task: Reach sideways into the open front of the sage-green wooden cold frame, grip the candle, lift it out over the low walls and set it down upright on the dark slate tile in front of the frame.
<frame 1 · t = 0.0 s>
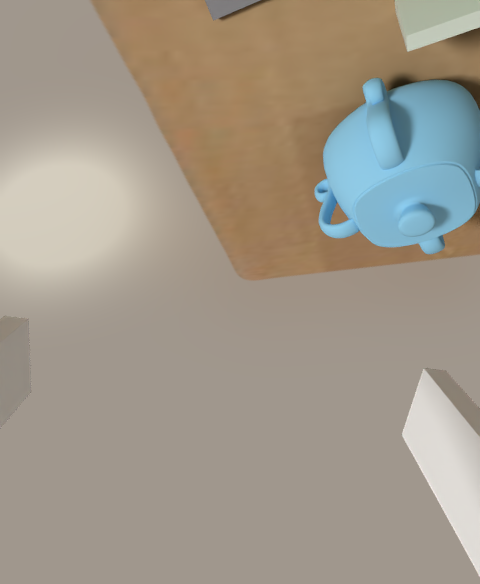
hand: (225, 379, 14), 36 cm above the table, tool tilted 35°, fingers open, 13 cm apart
decorative pot: (397, 135, 46), on the table
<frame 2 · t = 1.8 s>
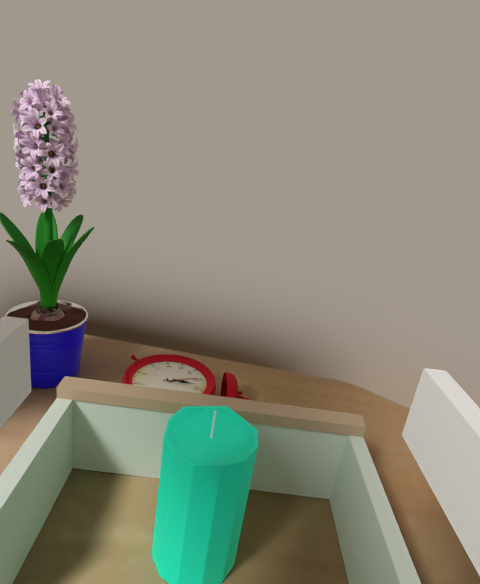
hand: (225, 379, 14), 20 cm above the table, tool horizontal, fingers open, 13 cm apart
hyacinth: (50, 370, 48), on the table
cold frame: (194, 549, 30), on the table
candle: (194, 551, 30), on the table
alarm clock: (181, 416, 44), on the table
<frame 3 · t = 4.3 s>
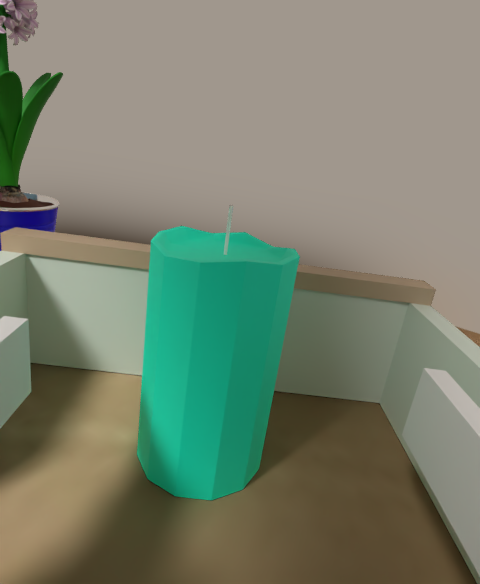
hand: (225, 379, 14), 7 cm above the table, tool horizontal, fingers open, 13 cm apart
hyacinth: (13, 278, 38), on the table
cold frame: (200, 450, 20), on the table
candle: (199, 453, 20), on the table
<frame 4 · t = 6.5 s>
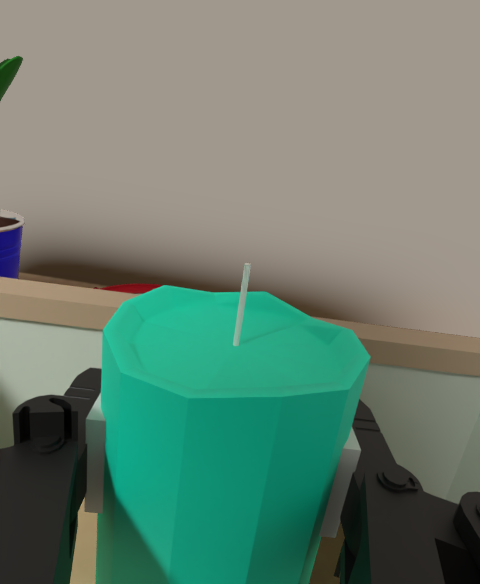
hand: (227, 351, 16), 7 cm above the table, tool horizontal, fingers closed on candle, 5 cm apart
alarm clock: (172, 375, 27), on the table
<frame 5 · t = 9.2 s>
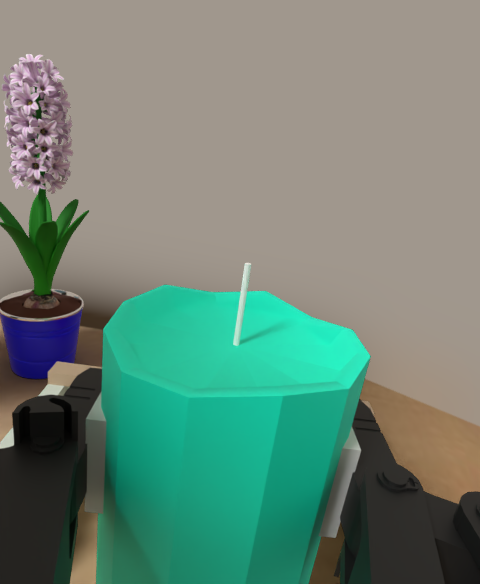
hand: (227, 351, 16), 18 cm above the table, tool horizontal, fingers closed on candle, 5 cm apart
hyacinth: (45, 361, 46), on the table
cold frame: (193, 542, 28), on the table
when the fingers open (9 cm above the table, at t = 12.0 s): candle drops 1 cm, resting on slate tile.
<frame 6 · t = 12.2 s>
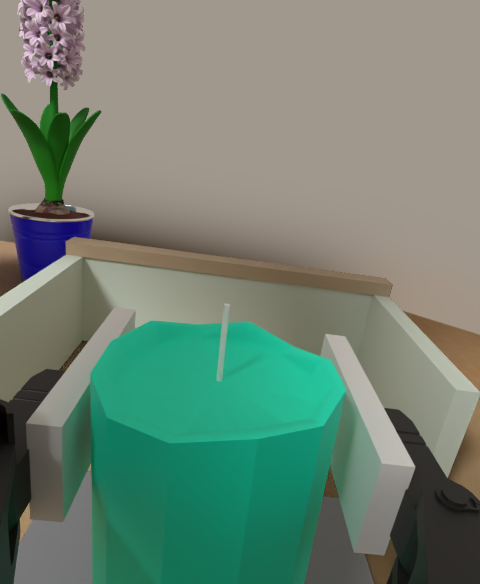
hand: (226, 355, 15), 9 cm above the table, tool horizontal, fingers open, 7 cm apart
hyacinth: (55, 276, 46), on the table
cold frame: (215, 400, 28), on the table
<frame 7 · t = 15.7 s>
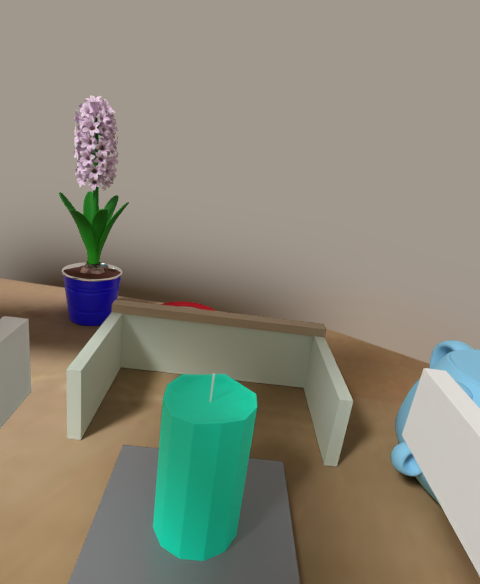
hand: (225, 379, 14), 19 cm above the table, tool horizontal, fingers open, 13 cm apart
decorative pot: (477, 491, 37), on the table
hyacinth: (92, 316, 62), on the table
cold frame: (209, 407, 44), on the table
candle: (195, 523, 29), point 1 cm above the table, touching slate tile
slate tile: (194, 529, 30), on the table
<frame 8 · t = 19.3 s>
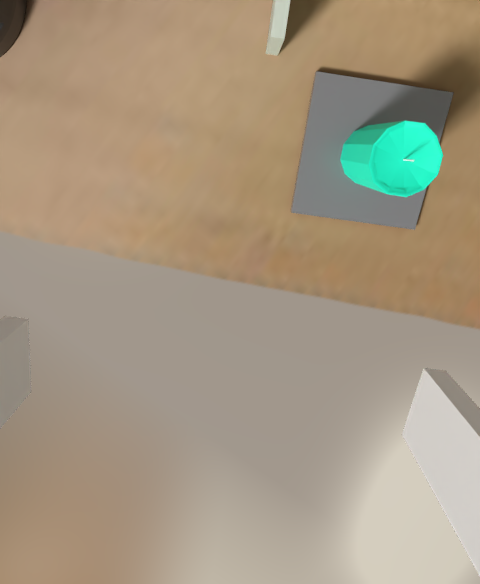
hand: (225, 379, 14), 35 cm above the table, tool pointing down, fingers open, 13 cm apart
candle: (368, 155, 44), point 1 cm above the table, touching slate tile
slate tile: (366, 155, 44), on the table
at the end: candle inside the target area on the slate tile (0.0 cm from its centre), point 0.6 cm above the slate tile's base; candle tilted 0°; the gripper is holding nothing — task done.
